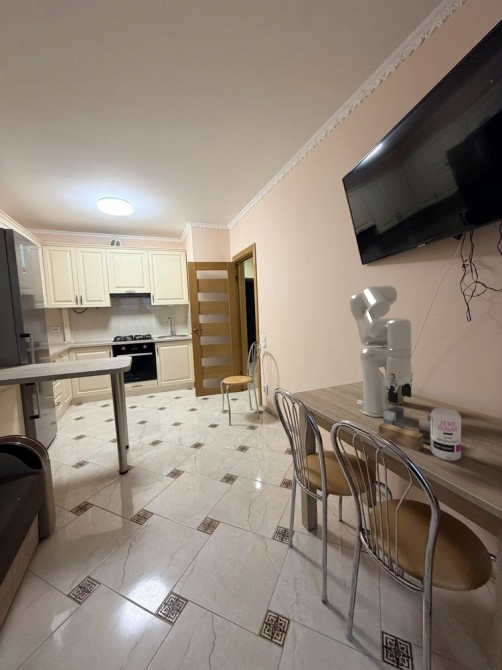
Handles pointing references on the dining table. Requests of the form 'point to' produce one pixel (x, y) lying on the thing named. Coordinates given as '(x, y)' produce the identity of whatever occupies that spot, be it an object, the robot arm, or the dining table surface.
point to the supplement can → (446, 434)
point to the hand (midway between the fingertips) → (400, 399)
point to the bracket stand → (397, 418)
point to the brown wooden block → (402, 436)
